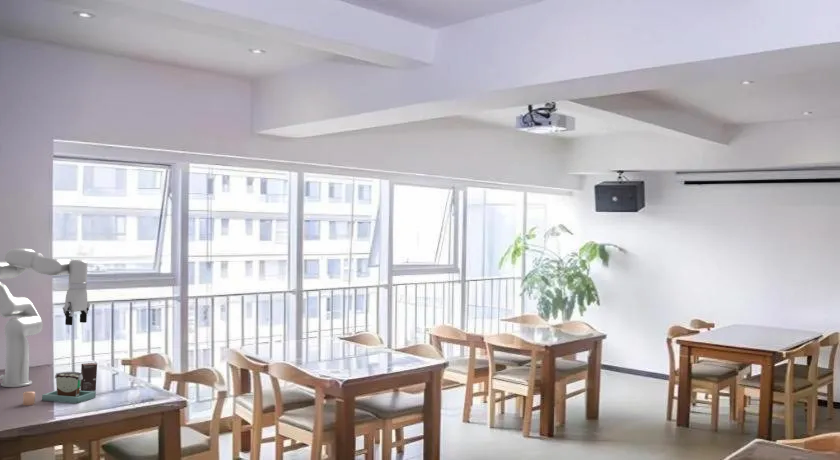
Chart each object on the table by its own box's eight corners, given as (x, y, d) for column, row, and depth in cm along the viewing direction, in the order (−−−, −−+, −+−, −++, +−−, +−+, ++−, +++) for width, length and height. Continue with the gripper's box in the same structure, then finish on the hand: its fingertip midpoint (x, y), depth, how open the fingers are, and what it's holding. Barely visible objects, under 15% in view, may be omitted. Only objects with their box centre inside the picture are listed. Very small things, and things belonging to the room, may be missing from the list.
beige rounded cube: (20, 405, 285) (20, 393, 285) (28, 402, 290) (28, 390, 290) (29, 405, 285) (29, 393, 285) (37, 403, 289) (37, 391, 289)
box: (82, 391, 312) (83, 365, 312) (79, 389, 316) (81, 363, 316) (96, 390, 316) (97, 364, 316) (94, 388, 319) (95, 362, 320)
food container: (88, 395, 302) (89, 372, 302) (78, 398, 296) (79, 375, 296) (64, 393, 304) (65, 370, 305) (54, 396, 298) (55, 373, 299)
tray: (41, 400, 294) (42, 394, 294) (60, 394, 306) (60, 389, 306) (78, 403, 291) (78, 397, 291) (95, 397, 302) (95, 391, 302)
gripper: (82, 285, 326) (81, 321, 325) (57, 287, 309) (55, 325, 308) (96, 285, 324) (95, 322, 324) (72, 288, 307) (70, 326, 307)
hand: (76, 323), depth 316 cm, fingers open, 9 cm apart
